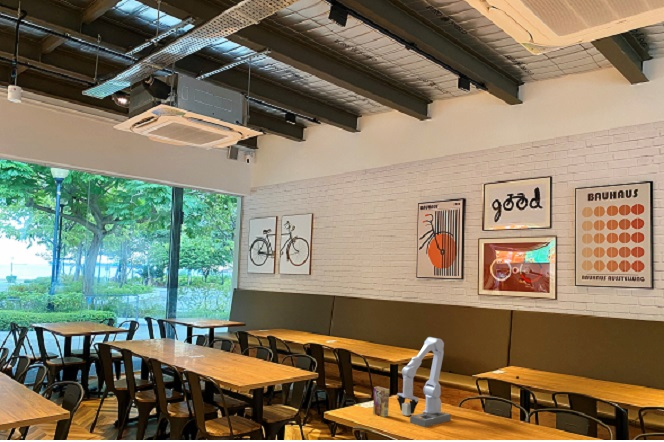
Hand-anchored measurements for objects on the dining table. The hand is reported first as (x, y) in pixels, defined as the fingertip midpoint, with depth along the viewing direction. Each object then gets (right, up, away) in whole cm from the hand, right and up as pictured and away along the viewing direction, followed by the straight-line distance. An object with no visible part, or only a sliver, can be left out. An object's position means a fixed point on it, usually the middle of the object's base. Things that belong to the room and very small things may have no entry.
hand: (407, 411), depth 301 cm
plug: (0, -2, 0) cm, 2 cm away
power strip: (+11, -1, -11) cm, 16 cm away
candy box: (-16, -1, -2) cm, 16 cm away
